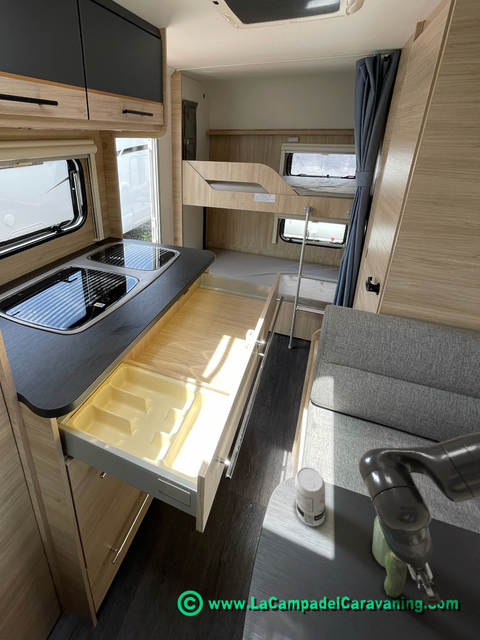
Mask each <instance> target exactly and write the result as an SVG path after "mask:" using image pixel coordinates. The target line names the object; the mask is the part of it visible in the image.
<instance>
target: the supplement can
mask: <svg viewBox="0 0 480 640" xmlns="http://www.w3.org/2000/svg"><path fill="white" fill-rule="evenodd" d="M294 484H295V486H294V487H295V507H296V508H295V509H296V514H297V516H298V518H299V519H300V521H301V522H303V523H304V524H305V525H307V526H310V527H318V526H320V525H322V524H323V522H324V521H325V517H326V484H325V481H324V478H323V476H322V475H321V473H320V472H319V471H317V470H316V469H314V468H312V467H307V466H306V467H302V468H300V469H299V470H298V472H296V474H295V478H294Z"/></svg>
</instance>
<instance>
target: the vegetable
mask: <svg viewBox="0 0 480 640" xmlns="http://www.w3.org/2000/svg"><path fill="white" fill-rule="evenodd" d="M385 565H386V568H385V571H386V577H385V579H384V582H383V588H384V591H385V593H386V595H388V596H389V597H390V598H398V597H399V596H400V595H401V594H402V593H403V591H404V588H405V585H406V581H407V574H408V566H407V564H406V563H405V562H403V561H402V560H400V559H399V558H398V557H396V556H395V555H394V553H393V552H392V551H391V550H390V551H388V552H387V553H386V556H385Z"/></svg>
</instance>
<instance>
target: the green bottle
mask: <svg viewBox="0 0 480 640" xmlns="http://www.w3.org/2000/svg"><path fill="white" fill-rule="evenodd" d="M371 550H372V554H373V556H374V559H375V561H376V562H378V564H379V565H380V566H382V567H383V568H385V569H386V565H385V556H386V553H387V552H388V551H390V548H389V546H388V545H387V543H386V540H385V538H384V535H383V533H382V530H381V527H380V524H379V519H378V516H377V515H376V516H375V519H374V523H373V534H372V545H371Z"/></svg>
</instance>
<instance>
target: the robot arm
mask: <svg viewBox="0 0 480 640" xmlns="http://www.w3.org/2000/svg"><path fill="white" fill-rule="evenodd" d="M357 467H358V471H359V472H358V473H359V474H360V477H361V479H362V481H363V484H364V486H365V489H366V491H367V493H368V495H369V498H370V500H371V503H372V505H373V507H374V509H375V512H376V516H378V519H379V524H380V527H381V530H382V533H383V535H384V538H385V540H386V543H387V545H388V546H389V548H390V550H391V551H392V552H393V553H394V555H395V556H396V557H398V558H399V559H400V560H402V561H403V562H405V563H406V565H407V569H408V571H409V574H410V576H411V578H412V579H413V581H416V583H417V588H418V590H419V592H420V593H421V595H422V600H423V602H424V603H425V606H438V605H442V600H441V597H440V593H439V590H438V587H437V586H436V585H435V583H434V582H433V581H432V579H433V577H434V575H433V573H432V571H431V567H430V566H429V563H428V562H429V561H430V560H431V558H432V556H433V551H434V547H433V541H432V537H431V531H430V528H429V524H430V523H431V522H432V513H431V509H430V507H429V505H428V502H427V500H426V499H425V497H424V495H423V493H422V491H421V490H420V488H419V486H418V485H417V482H416V481H415V479H414V478H413V476H412V474H420V475H423V476H426V477H427V478H428V479H430V480H431V481H432V483H433V484H434V485H435V486H436V487H437V489H438V490H439V491H440V492H441V494H442V495H444V497H445V498H446V499H448V500H449V501H451V502H453V503H463V502H467V501H471V500H474V499H477V498H480V431H476V432H469V433H465V434H461V435H459V436H456V437H452V438H448V439H446V440H443V441H439V442H435V443H433V444H430V445H429V444H428V445H422V446H408V447H376V448H371V449H369V450H367V451H365V452H364V453H363V454H362V455H361V457H360V458H359V460H358V464H357Z"/></svg>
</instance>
